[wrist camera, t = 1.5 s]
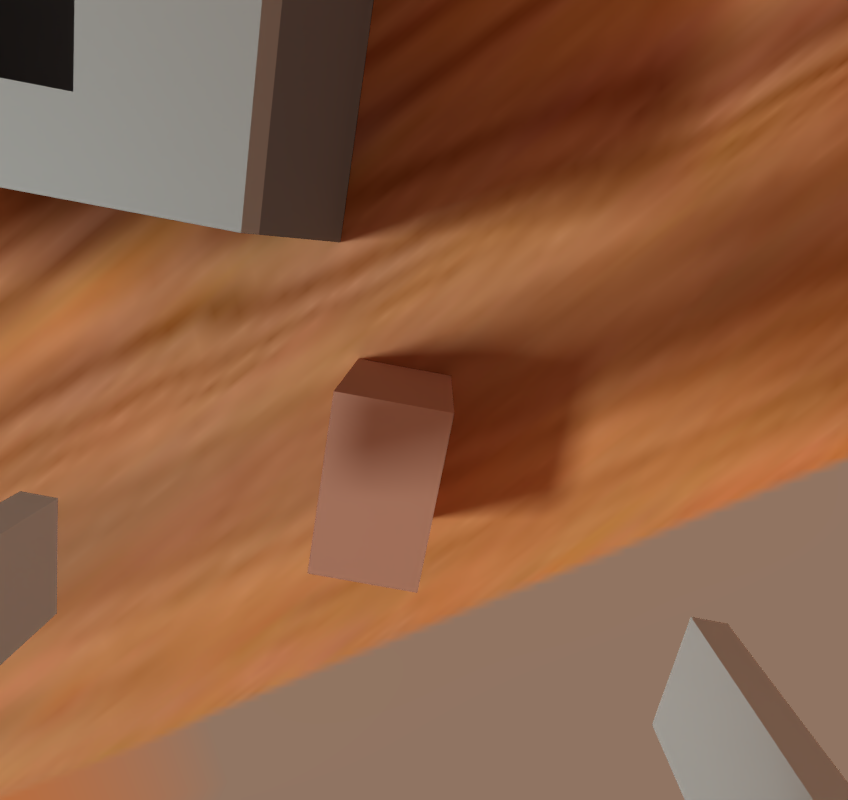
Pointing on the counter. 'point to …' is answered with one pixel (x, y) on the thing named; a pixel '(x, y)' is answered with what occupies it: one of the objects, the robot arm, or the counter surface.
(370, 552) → the block
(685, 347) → the counter surface
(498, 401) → the counter surface
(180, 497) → the counter surface
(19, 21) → the box
